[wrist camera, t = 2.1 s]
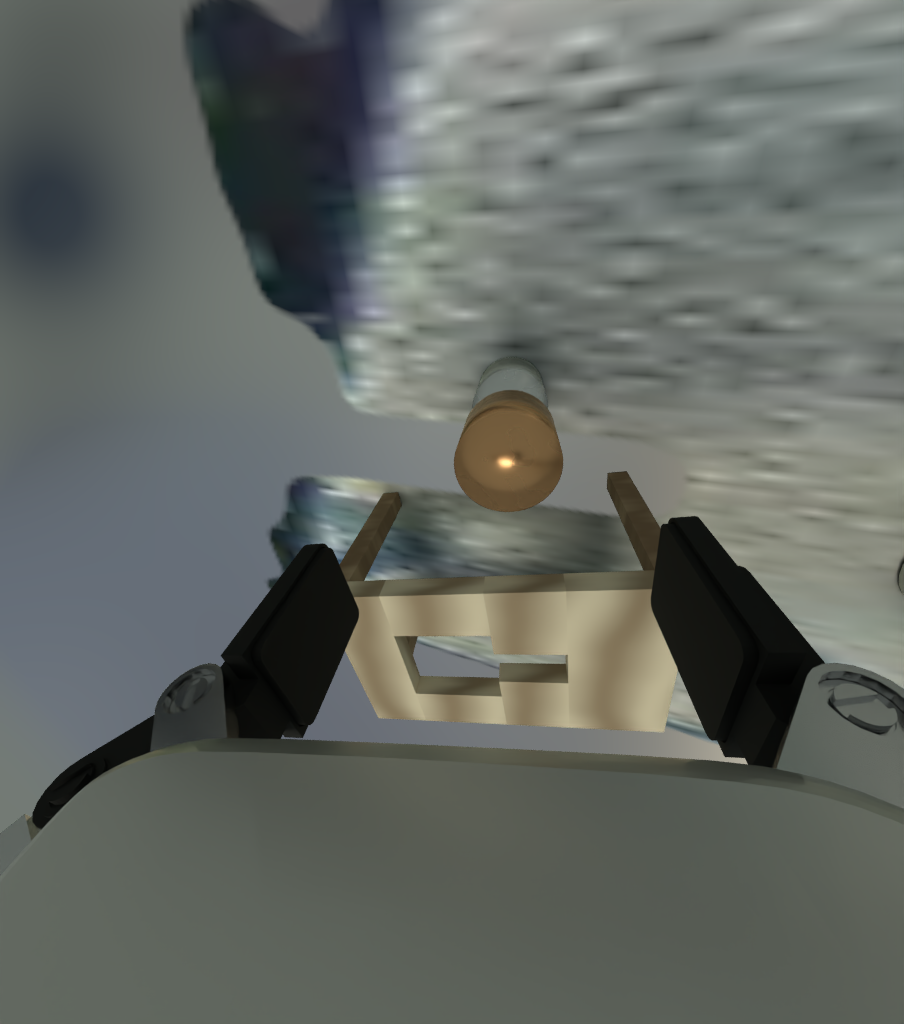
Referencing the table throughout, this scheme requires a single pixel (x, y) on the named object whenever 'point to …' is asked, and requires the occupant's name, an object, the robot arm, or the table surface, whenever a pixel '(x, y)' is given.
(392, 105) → the table surface
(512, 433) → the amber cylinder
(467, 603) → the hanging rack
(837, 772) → the robot arm
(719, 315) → the table surface
